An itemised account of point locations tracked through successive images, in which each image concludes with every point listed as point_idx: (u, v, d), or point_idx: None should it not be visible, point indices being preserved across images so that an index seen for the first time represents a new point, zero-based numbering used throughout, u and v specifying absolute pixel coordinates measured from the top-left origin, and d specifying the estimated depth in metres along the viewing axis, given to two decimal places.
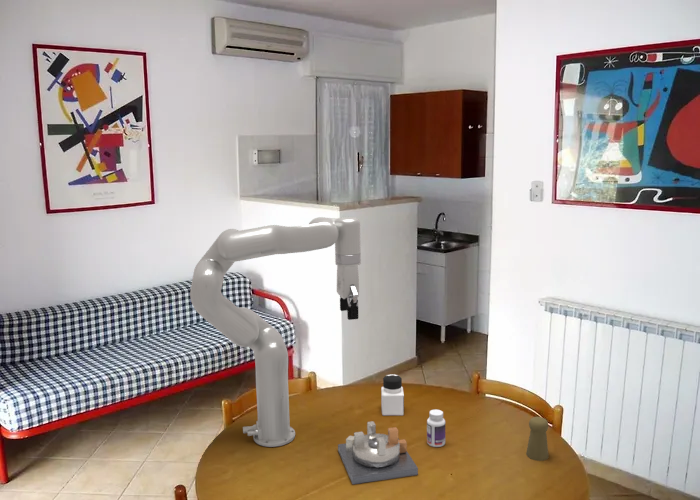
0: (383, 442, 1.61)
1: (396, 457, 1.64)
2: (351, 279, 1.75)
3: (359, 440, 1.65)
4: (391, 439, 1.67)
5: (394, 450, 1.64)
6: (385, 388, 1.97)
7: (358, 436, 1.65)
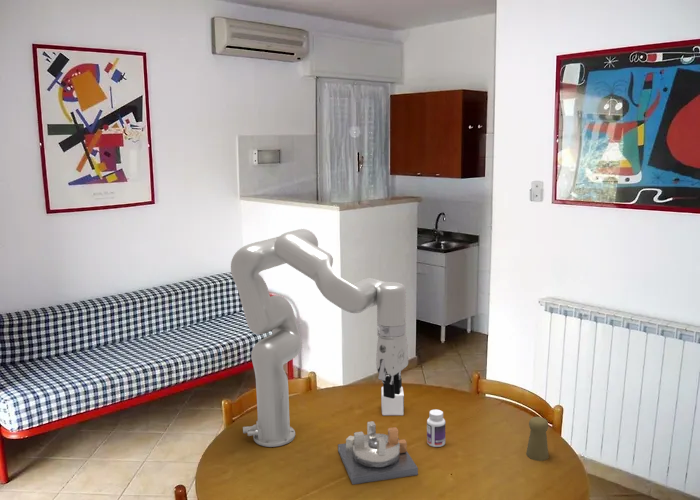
0: (383, 442, 1.61)
1: (396, 457, 1.64)
2: None
3: (359, 440, 1.65)
4: (391, 439, 1.67)
5: (394, 450, 1.64)
6: None
7: (358, 436, 1.65)
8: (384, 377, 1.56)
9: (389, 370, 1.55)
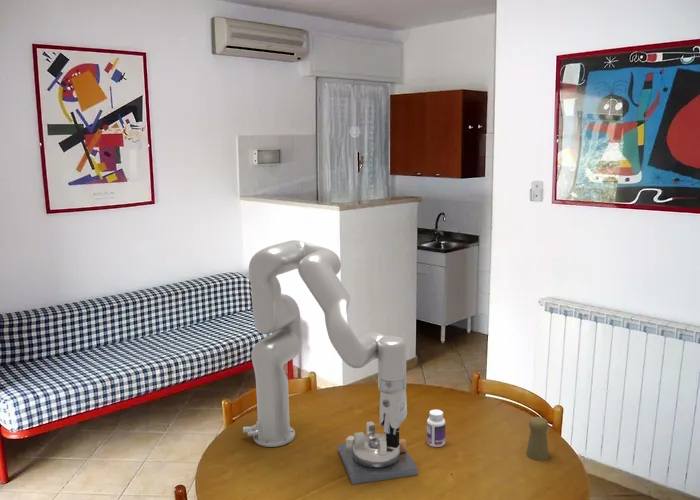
0: (384, 442, 1.61)
1: (396, 456, 1.64)
2: None
3: (359, 440, 1.65)
4: None
5: (395, 450, 1.64)
6: None
7: (358, 436, 1.64)
8: (389, 430, 1.60)
9: (393, 424, 1.58)
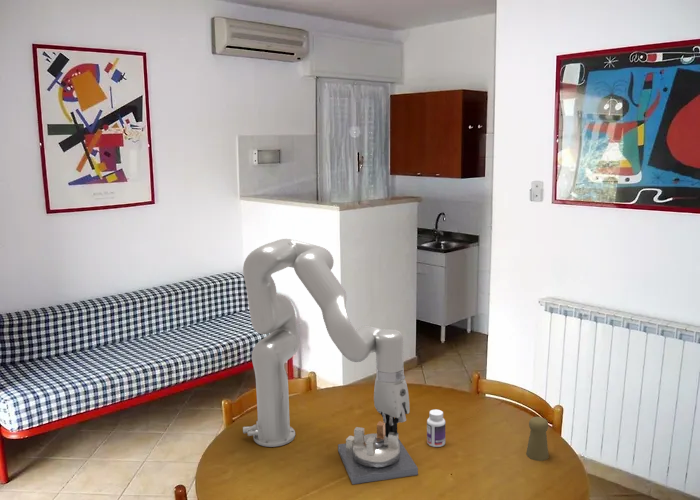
0: (397, 434, 1.65)
1: None
2: None
3: (374, 445, 1.62)
4: (383, 433, 1.71)
5: None
6: None
7: (373, 441, 1.62)
8: None
9: (408, 409, 1.66)
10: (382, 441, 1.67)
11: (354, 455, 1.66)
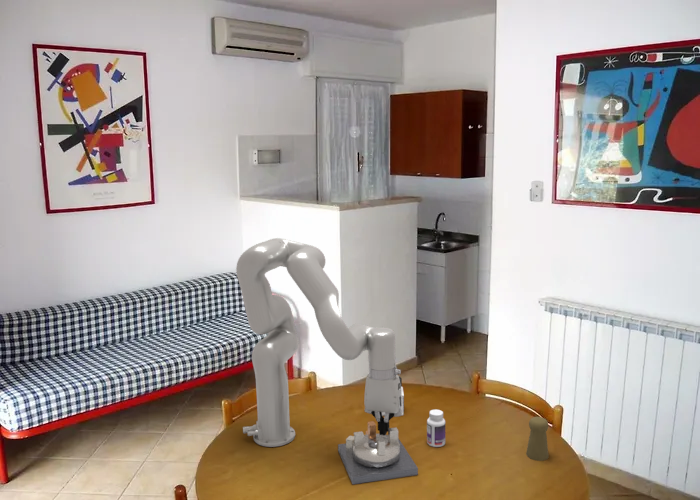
0: (396, 429, 1.68)
1: None
2: None
3: None
4: None
5: (387, 436, 1.72)
6: None
7: None
8: None
9: (401, 402, 1.70)
10: None
11: (361, 460, 1.63)
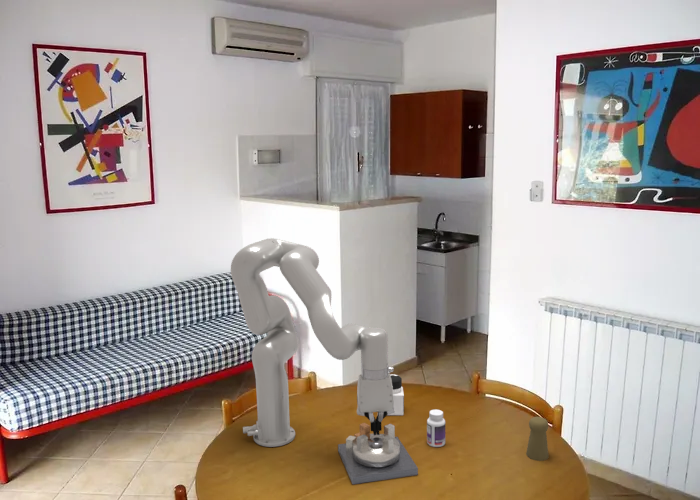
0: None
1: None
2: (357, 389, 1.70)
3: None
4: None
5: None
6: None
7: None
8: None
9: None
10: (379, 438, 1.69)
11: (371, 463, 1.61)
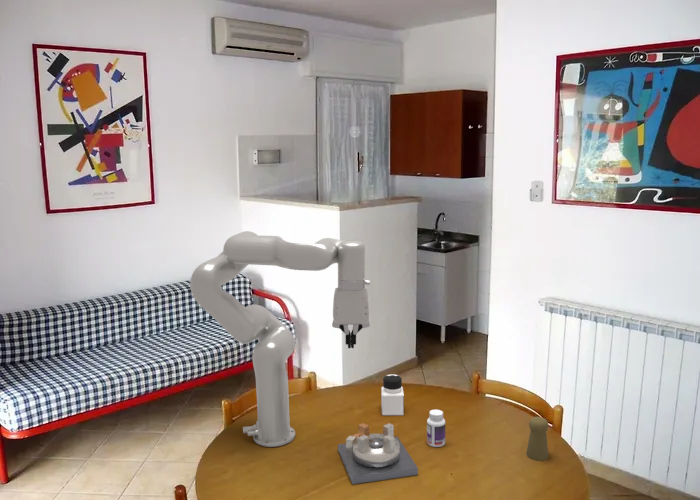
0: None
1: None
2: (333, 302, 1.71)
3: None
4: None
5: (377, 434, 1.73)
6: (385, 388, 1.97)
7: None
8: None
9: None
10: (379, 438, 1.69)
11: (373, 463, 1.61)
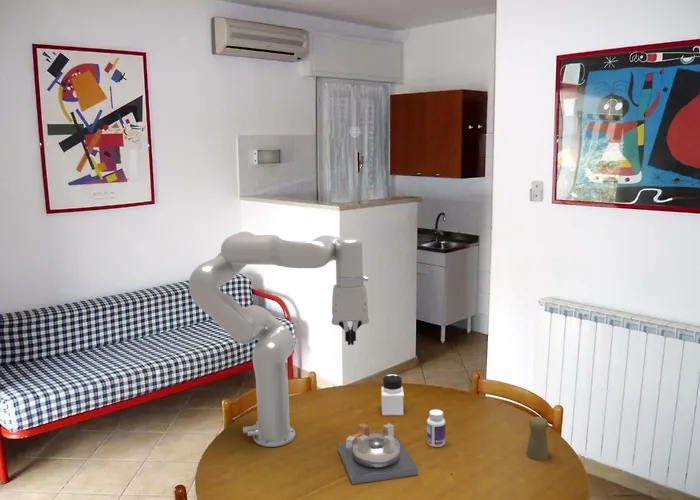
0: None
1: None
2: (332, 299, 1.71)
3: None
4: None
5: (377, 434, 1.73)
6: (385, 388, 1.97)
7: None
8: None
9: None
10: (379, 438, 1.69)
11: (373, 463, 1.61)
